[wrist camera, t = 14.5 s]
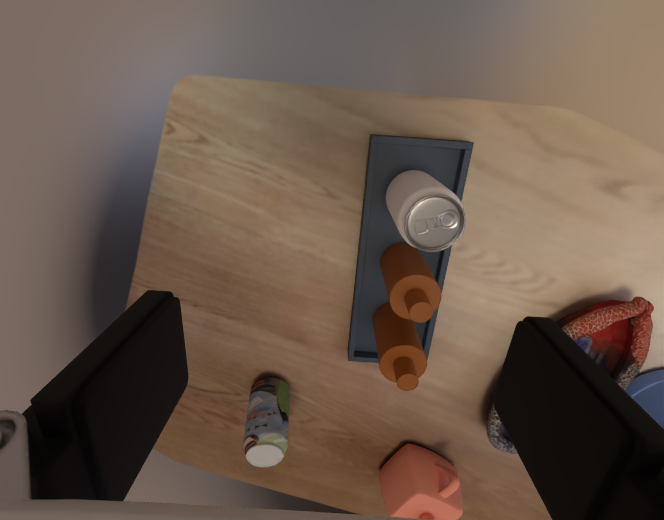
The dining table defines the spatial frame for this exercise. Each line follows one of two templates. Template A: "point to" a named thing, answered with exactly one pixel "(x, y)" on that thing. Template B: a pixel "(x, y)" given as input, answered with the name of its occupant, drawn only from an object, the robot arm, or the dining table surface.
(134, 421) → the robot arm
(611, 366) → the dish
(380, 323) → the amber bottle
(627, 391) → the water jug
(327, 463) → the dining table surface
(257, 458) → the beverage can
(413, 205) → the can
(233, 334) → the dining table surface
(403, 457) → the teapot
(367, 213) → the tray
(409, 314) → the amber bottle
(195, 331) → the dining table surface
